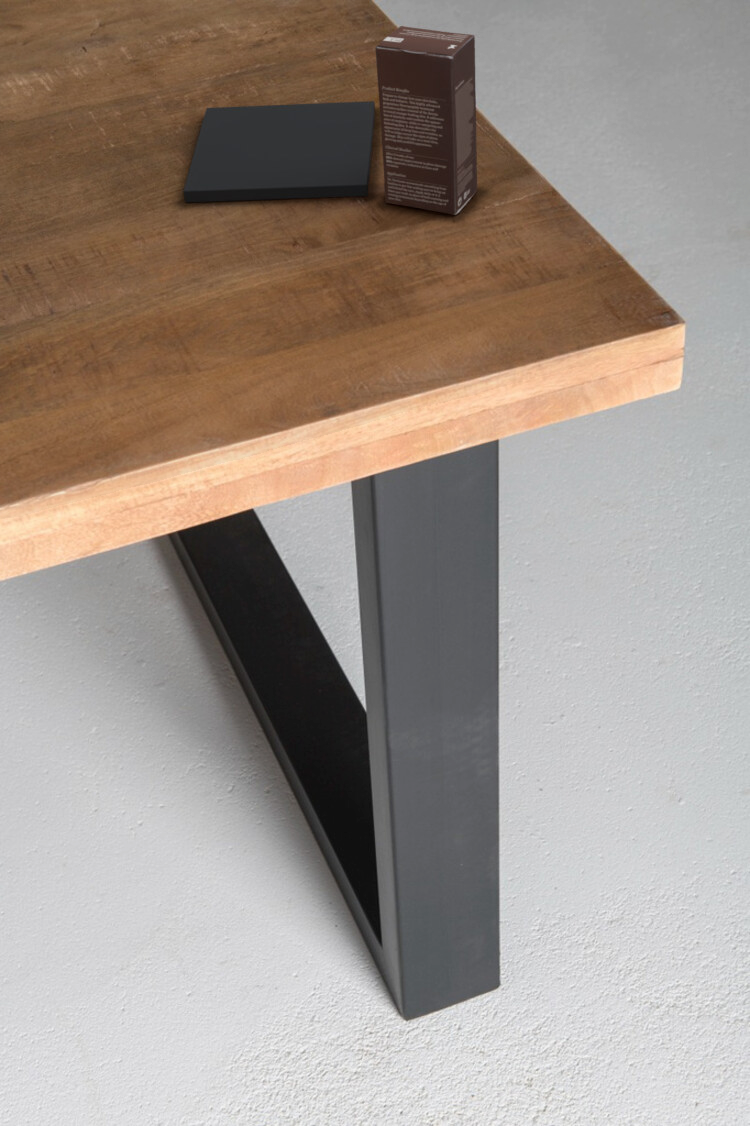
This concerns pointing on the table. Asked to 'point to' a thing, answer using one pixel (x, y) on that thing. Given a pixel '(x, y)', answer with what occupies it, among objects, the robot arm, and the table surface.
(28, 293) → the table surface
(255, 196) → the charcoal mat
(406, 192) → the box
